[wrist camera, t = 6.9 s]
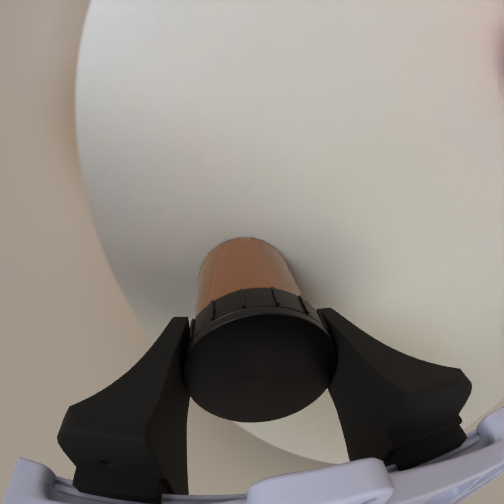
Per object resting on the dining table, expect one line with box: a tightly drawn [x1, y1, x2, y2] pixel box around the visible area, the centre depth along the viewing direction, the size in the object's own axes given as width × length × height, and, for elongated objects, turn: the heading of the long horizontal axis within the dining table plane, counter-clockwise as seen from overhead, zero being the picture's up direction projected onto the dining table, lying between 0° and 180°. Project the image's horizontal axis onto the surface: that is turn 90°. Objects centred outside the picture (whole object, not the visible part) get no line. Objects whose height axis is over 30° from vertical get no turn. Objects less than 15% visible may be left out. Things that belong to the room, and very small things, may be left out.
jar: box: [195, 238, 304, 318], centre depth 14 cm, size 5×5×7 cm
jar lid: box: [182, 287, 337, 422], centre depth 11 cm, size 6×6×2 cm
